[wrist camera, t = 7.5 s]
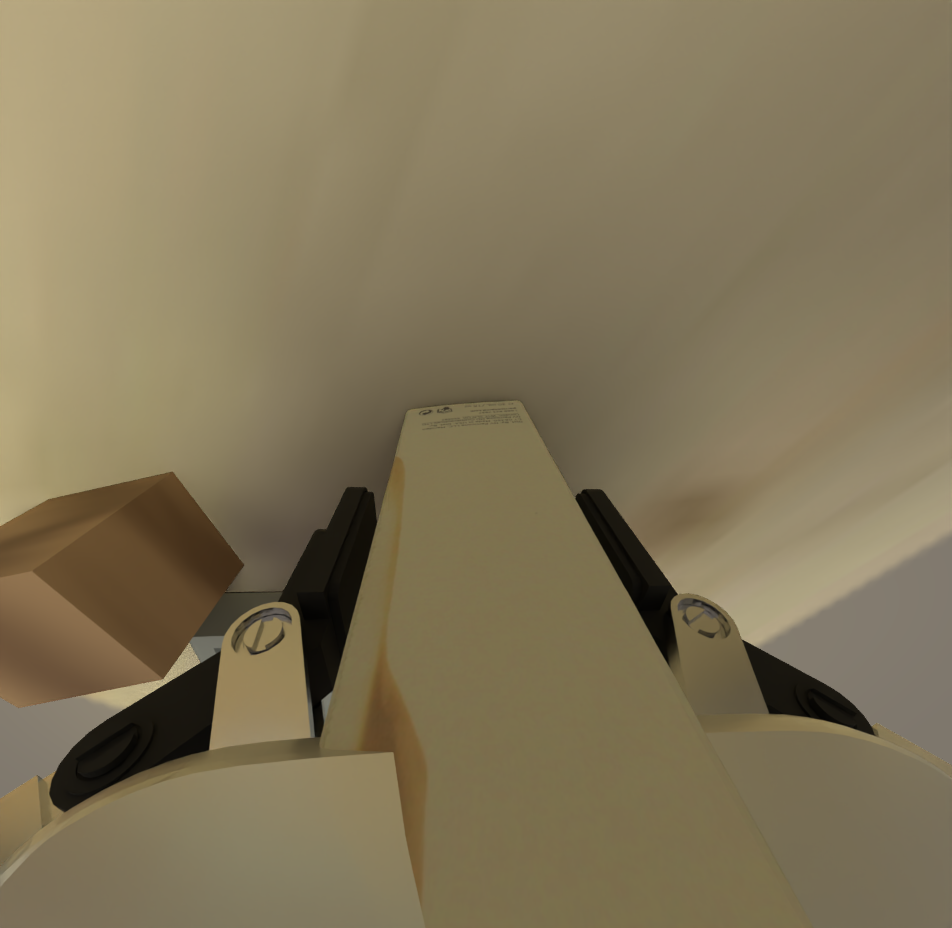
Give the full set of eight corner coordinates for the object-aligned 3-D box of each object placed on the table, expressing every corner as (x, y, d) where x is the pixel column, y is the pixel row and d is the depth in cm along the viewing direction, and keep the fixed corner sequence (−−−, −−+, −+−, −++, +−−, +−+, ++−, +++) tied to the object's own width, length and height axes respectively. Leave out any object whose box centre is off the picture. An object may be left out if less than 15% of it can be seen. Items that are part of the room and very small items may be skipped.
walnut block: (174, 470, 13) (31, 571, 8) (245, 563, 15) (162, 679, 11) (51, 498, 13) (-151, 610, 9) (140, 585, 15) (19, 707, 11)
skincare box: (403, 405, 12) (62, 1386, 1) (523, 395, 12) (1046, 1217, 2) (427, 541, 15) (378, 1163, 5) (522, 532, 15) (692, 1114, 5)
